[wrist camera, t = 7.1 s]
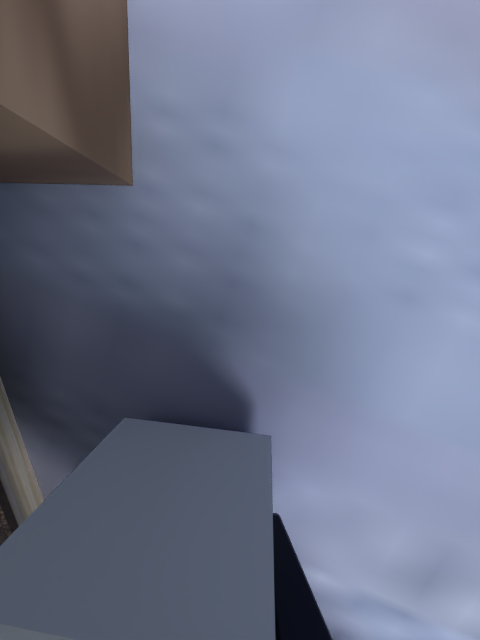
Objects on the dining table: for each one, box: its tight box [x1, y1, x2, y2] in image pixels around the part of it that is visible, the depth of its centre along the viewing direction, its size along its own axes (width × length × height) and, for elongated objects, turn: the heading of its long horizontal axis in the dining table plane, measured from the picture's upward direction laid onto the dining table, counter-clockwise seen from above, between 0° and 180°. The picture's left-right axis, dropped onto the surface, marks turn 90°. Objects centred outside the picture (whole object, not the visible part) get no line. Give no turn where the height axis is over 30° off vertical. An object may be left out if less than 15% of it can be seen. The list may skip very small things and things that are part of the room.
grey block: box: [0, 418, 275, 640], centre depth 6 cm, size 5×5×5 cm
